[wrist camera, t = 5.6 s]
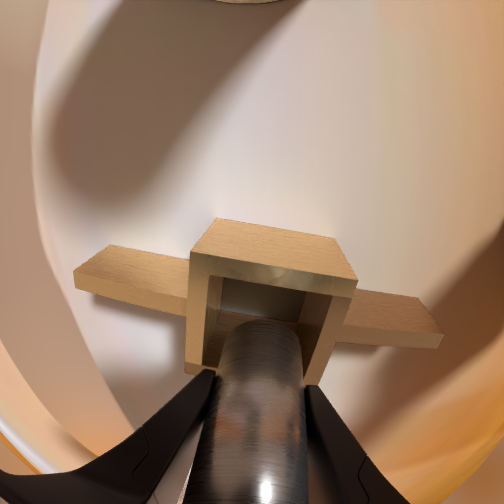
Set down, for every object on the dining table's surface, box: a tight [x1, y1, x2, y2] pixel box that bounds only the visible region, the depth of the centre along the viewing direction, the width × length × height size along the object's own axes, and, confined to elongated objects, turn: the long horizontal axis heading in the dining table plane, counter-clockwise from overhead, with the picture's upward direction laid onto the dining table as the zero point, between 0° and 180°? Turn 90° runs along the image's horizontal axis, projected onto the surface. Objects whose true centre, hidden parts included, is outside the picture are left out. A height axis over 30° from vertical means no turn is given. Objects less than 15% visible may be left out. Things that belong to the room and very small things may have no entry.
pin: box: [182, 319, 309, 504], centre depth 7 cm, size 3×3×8 cm
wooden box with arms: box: [73, 218, 445, 388], centre depth 14 cm, size 20×6×5 cm, turn 81°
